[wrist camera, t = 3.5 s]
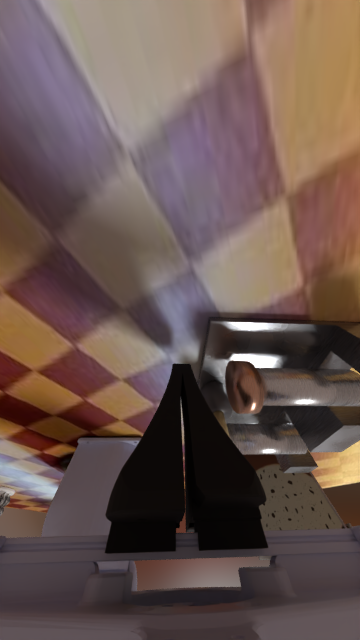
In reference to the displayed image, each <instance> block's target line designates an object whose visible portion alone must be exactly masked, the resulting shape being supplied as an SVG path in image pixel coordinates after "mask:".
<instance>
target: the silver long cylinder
mask: <svg viewBox="0 0 360 640" xmlns="http://www.w3.org/2000/svg"><path fill="white" fill-rule="evenodd" d="M226 425H227V428H228V432H229V436H230V439H231V440H232V441H233V443H234V444H235V445H236V447H237V448H238V449H239V450H240V452H241V453H242V454H306V453H307V449H308V448H307V446H306V445H305V443H304V441H303V440H302V438H301V436H300V435H299V433H298V431H297V430H296V428H295V427H294V425H293V424H292V423H226Z"/></svg>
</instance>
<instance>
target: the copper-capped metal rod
mask: <svg viewBox="0 0 360 640" xmlns="http://www.w3.org/2000/svg"><path fill="white" fill-rule="evenodd" d="M225 385H226V392H227V396H228V400H229V403H230V405H231V407H232V409H233V410H234V411H235V412H236V413H238V414H257V413H259V412H260V411H261V409H262V407H263V405H268V406H360V375H359V374H358V373H356V372H354V371H351V370H347V369H305V368H256V367H255V366H254V365H253V364H252V363H251V362H249V361H234V360H232V361H229V362H228V364H227V366H226V371H225Z"/></svg>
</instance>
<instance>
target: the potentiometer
mask: <svg viewBox="0 0 360 640" xmlns="http://www.w3.org/2000/svg"><path fill="white" fill-rule="evenodd" d="M201 392H202V394H203V396H204V398H205V400H206V402H207V404H208V405H209V407H210V409H211V411H212V412H213V414H214V415H215V417H216V419H217V420H218V422H219V423H220V425H221V426H222V427H223V429H224V430H225V432H226V433H227V435H228V436H229V432H228V428H227V425H226V421H225V419H227V418H229V417H230V416H231V415H232V409H231V406H230V403H229V400H228V396H227V393H226V390H225V387H224V385H223V384H221V383H218V382H210V383H207V384H205V385H203V386H202V387H201ZM229 437H230V436H229Z"/></svg>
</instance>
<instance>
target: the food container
mask: <svg viewBox="0 0 360 640" xmlns="http://www.w3.org/2000/svg"><path fill="white" fill-rule="evenodd" d="M243 455H244V457H245V458H246V459H247V460H248V462H249V463H250V464H251V465H252V466H253V468H254V469H255V471H256V473H257V475H258V477H259V479H260V482H261V484H262V486H263V489H264V491H265V495H266V498H267V500H266V502H265V503H263V504H262V505H260V506H259V509H260V513H261V516H262V519H260V520H261V524H262V527H263V530H264V531H273V530H309V529H345V528H352V526H351V524H344V522H343V521H342V519H341V518H340V516H339V515H338V513H337V511H336V510H335V508H334V507H333V505H332V504H331V502H330V501H329V499H328V497H327V496H326V494H325V493H324V491H323V490H322V488H321V487H320V485H319V483H318V482H317V480H316V479H315V477H314V476H313V474H312V473H311V472H309V473H283V472H282V469H281V467H280V465H279V463H278V460H277V458H276V456H275V454H243ZM271 557H272V556H259V560H270V558H271Z"/></svg>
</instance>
